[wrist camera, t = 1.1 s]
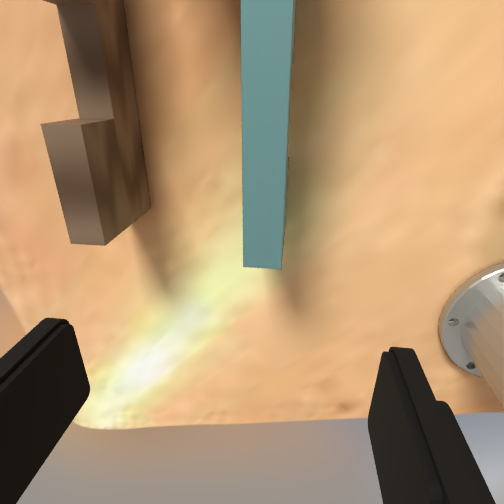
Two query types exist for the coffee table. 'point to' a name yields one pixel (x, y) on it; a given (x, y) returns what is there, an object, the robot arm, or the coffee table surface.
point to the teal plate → (265, 126)
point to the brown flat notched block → (98, 126)
